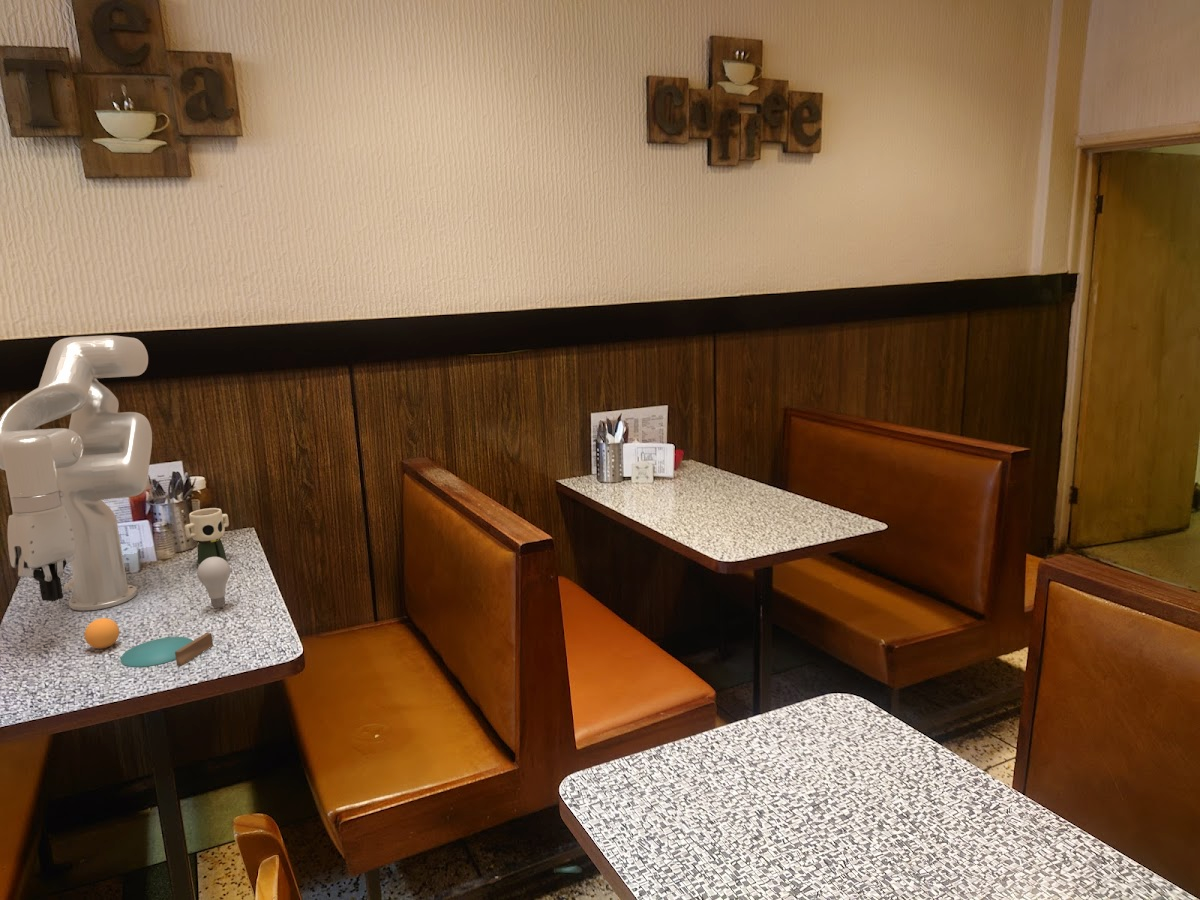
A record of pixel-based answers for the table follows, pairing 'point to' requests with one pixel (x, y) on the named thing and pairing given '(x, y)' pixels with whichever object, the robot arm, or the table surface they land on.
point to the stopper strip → (193, 649)
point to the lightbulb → (214, 579)
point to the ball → (101, 633)
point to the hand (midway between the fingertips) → (52, 599)
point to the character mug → (208, 532)
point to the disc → (154, 652)
